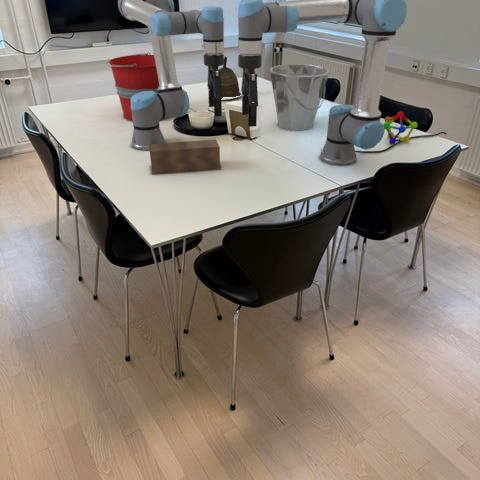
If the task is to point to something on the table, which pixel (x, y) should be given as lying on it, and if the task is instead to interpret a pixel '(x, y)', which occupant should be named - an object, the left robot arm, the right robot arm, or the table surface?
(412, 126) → the educational toy
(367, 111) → the right robot arm
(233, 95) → the bell
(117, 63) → the bucket
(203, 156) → the box
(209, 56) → the left robot arm
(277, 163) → the table surface
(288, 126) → the bucket
